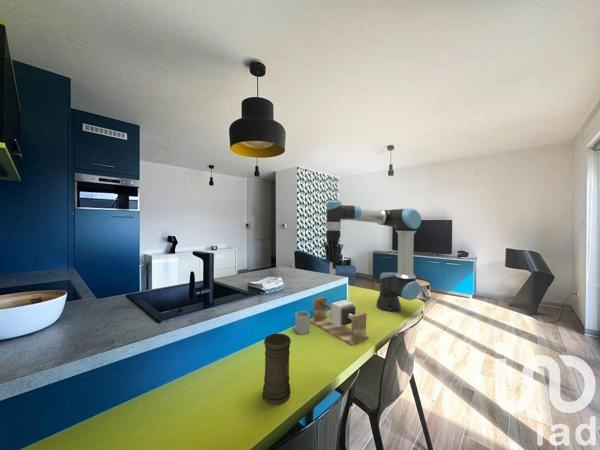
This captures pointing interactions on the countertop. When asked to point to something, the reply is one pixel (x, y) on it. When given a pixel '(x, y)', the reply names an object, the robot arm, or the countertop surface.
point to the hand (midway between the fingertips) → (332, 274)
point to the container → (276, 369)
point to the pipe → (349, 315)
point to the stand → (343, 333)
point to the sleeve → (339, 311)
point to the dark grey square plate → (344, 315)
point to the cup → (302, 322)
